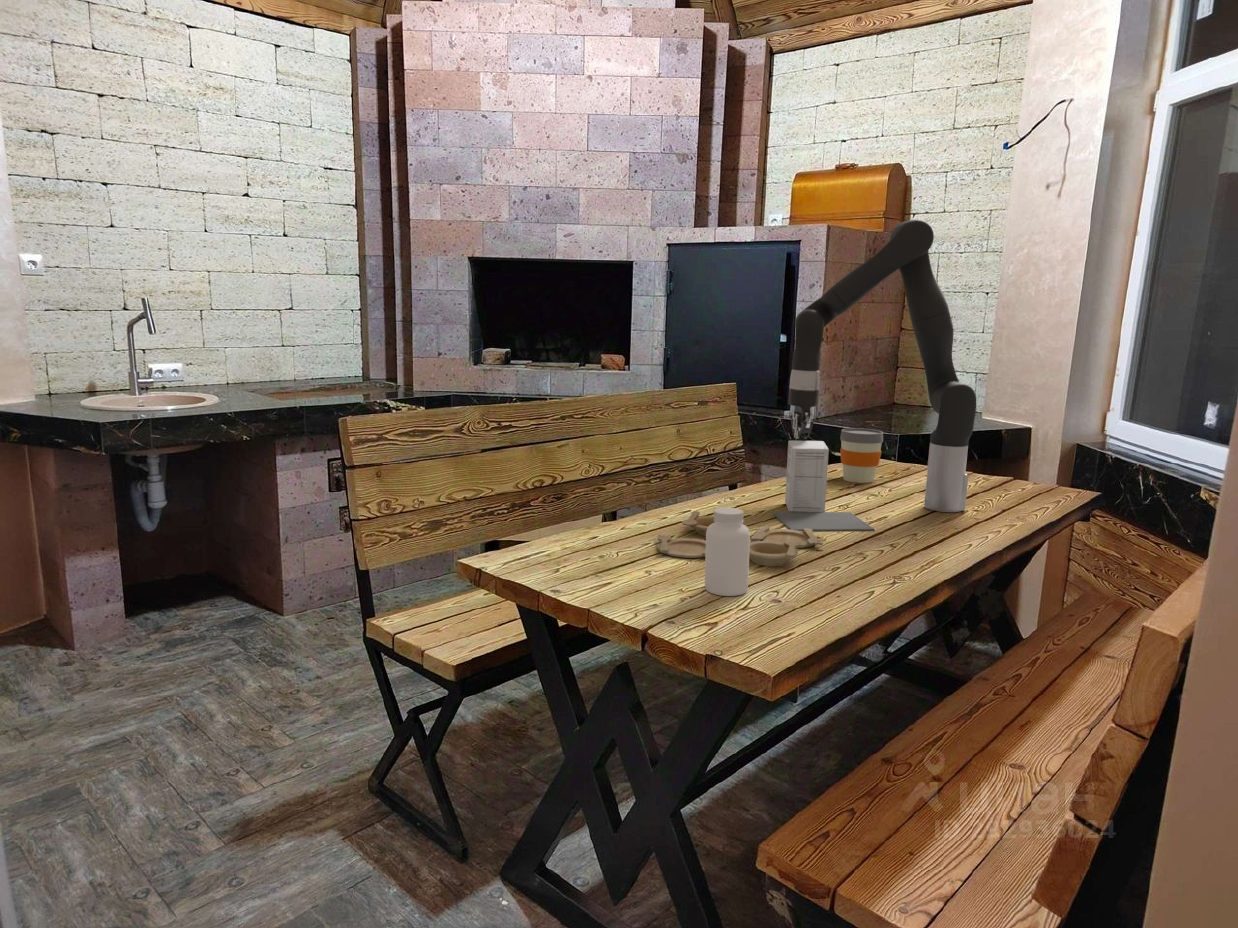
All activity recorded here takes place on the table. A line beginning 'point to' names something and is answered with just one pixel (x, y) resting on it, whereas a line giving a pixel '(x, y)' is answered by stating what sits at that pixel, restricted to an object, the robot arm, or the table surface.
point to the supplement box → (806, 476)
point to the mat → (822, 521)
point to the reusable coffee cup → (860, 453)
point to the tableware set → (764, 549)
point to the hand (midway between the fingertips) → (799, 452)
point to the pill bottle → (727, 553)
